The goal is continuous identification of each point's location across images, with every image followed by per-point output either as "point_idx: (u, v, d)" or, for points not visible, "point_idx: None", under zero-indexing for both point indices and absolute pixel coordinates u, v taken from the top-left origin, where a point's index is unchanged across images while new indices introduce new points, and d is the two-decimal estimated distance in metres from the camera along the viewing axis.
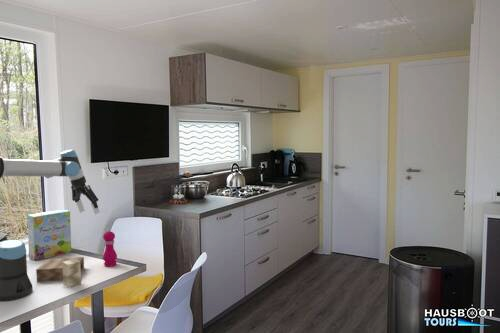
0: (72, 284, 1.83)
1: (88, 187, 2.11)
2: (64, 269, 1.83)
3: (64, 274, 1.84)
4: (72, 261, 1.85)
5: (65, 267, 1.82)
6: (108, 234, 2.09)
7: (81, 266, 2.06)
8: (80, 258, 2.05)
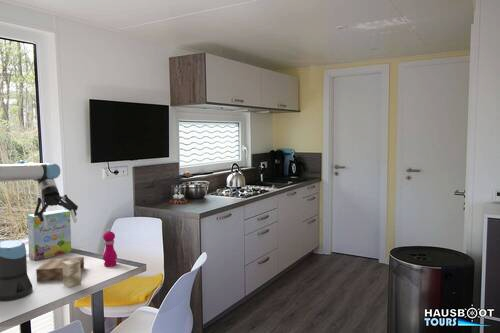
0: (72, 284, 1.83)
1: None
2: (64, 269, 1.83)
3: (64, 274, 1.84)
4: (72, 261, 1.85)
5: (65, 267, 1.82)
6: (108, 234, 2.09)
7: (81, 266, 2.06)
8: (80, 258, 2.05)
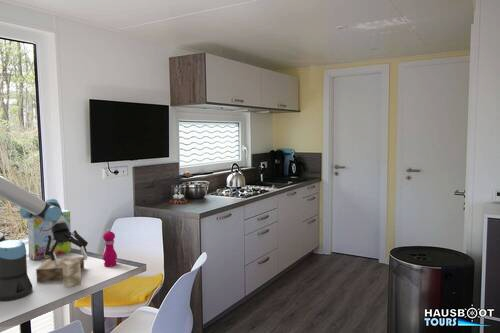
0: (72, 284, 1.83)
1: None
2: (64, 269, 1.83)
3: (64, 274, 1.84)
4: (72, 261, 1.85)
5: (65, 267, 1.82)
6: (108, 234, 2.09)
7: (81, 266, 2.06)
8: (80, 258, 2.05)
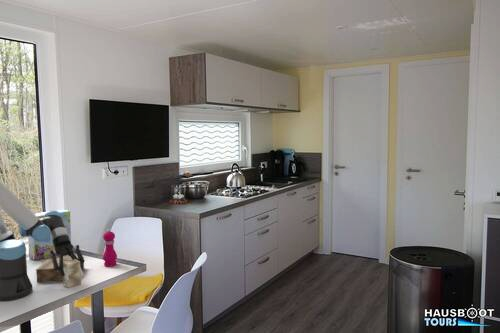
0: (72, 284, 1.83)
1: None
2: None
3: None
4: (72, 261, 1.85)
5: (65, 267, 1.82)
6: (108, 234, 2.09)
7: None
8: None
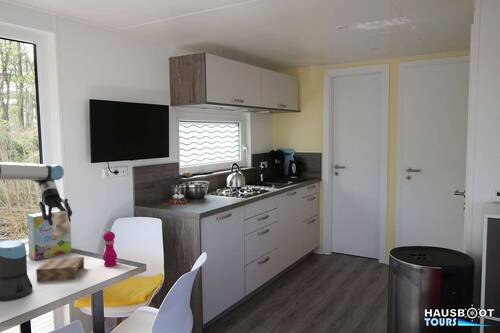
0: (60, 233, 1.93)
1: None
2: None
3: None
4: (60, 212, 1.95)
5: (53, 217, 1.93)
6: (108, 234, 2.09)
7: (81, 266, 2.06)
8: (80, 258, 2.05)
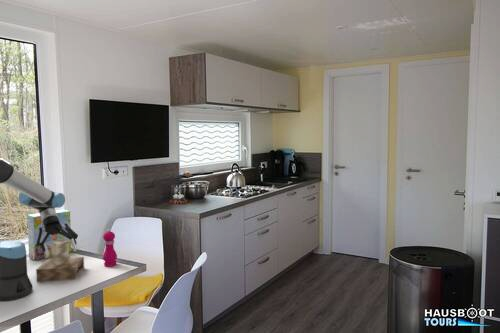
0: (60, 262, 1.95)
1: None
2: (53, 248, 1.96)
3: (53, 253, 1.96)
4: (61, 241, 1.97)
5: (54, 246, 1.95)
6: (108, 234, 2.09)
7: (81, 266, 2.06)
8: (80, 258, 2.05)
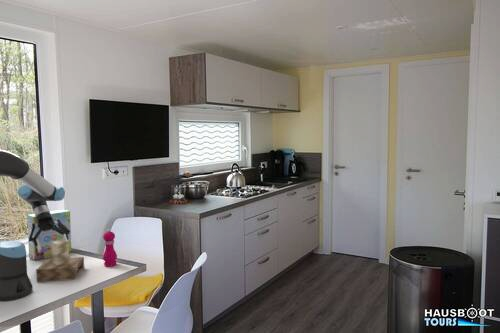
0: (60, 262, 1.95)
1: None
2: (53, 248, 1.96)
3: (53, 253, 1.96)
4: (61, 241, 1.97)
5: (54, 246, 1.95)
6: (108, 234, 2.09)
7: (81, 266, 2.06)
8: (80, 258, 2.05)
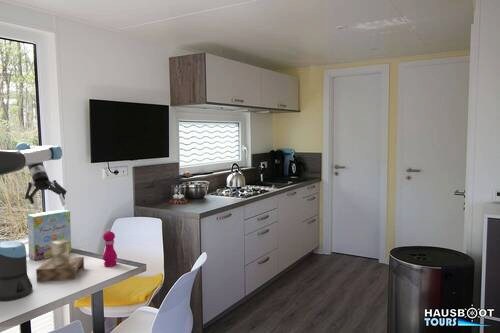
0: (60, 262, 1.95)
1: None
2: (53, 248, 1.96)
3: (53, 253, 1.96)
4: (61, 241, 1.97)
5: (54, 246, 1.95)
6: (108, 234, 2.09)
7: (81, 266, 2.06)
8: (80, 258, 2.05)
